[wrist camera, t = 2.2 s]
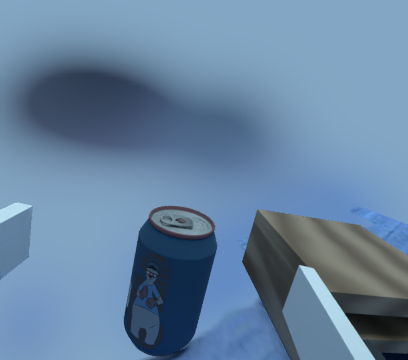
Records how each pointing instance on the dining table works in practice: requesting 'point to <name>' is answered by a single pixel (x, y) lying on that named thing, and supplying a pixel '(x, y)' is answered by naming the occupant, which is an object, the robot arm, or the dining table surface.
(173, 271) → the soda can
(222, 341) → the dining table surface
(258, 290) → the shelf
